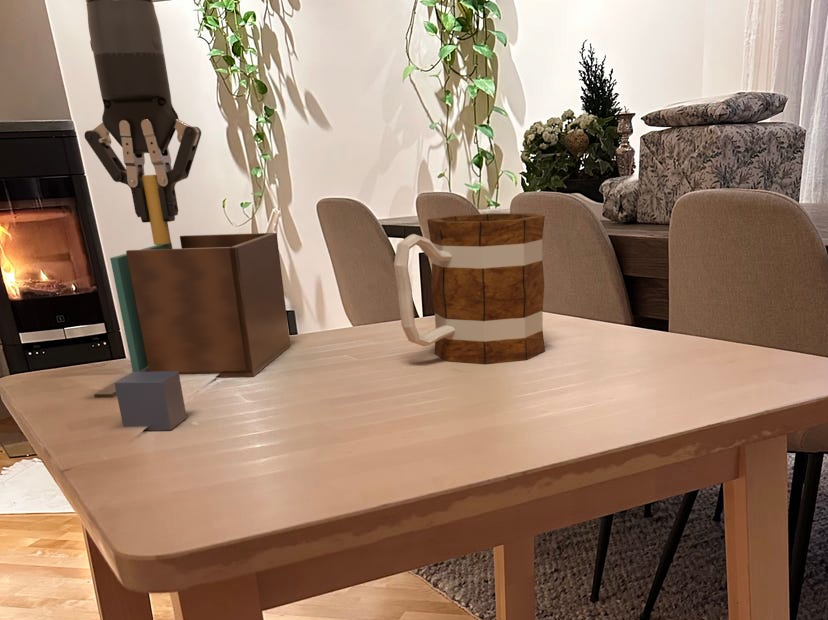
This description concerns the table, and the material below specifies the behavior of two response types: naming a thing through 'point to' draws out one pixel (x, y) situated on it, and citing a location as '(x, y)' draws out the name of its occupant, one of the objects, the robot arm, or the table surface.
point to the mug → (479, 287)
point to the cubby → (210, 305)
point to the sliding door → (124, 276)
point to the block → (151, 400)
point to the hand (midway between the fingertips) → (158, 220)
